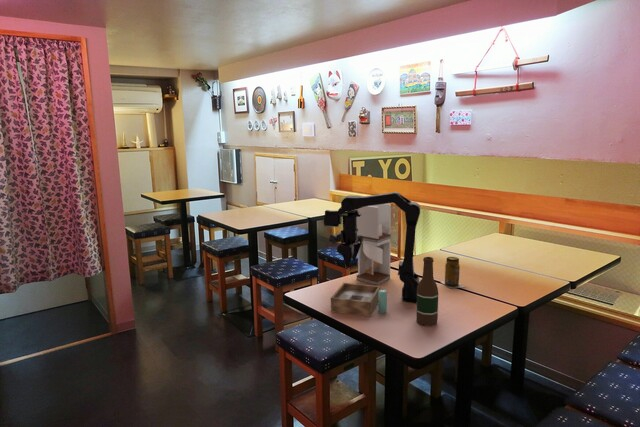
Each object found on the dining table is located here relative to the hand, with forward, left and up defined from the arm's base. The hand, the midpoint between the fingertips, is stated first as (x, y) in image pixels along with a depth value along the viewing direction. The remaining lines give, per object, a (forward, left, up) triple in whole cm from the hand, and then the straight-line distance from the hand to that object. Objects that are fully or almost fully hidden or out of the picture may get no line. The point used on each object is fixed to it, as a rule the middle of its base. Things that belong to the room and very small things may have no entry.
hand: (350, 263), depth 184 cm
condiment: (-40, -24, -14) cm, 49 cm away
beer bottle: (-33, +18, -14) cm, 40 cm away
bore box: (-5, +10, -14) cm, 17 cm away
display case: (-5, -22, -14) cm, 27 cm away
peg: (-16, +13, -14) cm, 24 cm away
